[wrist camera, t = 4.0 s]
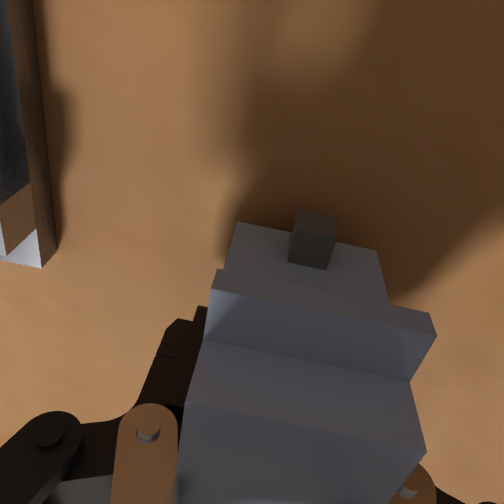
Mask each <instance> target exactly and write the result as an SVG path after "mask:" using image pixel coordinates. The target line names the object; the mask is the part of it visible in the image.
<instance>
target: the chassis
mask: <svg viewBox="0 0 504 504" xmlns="http://www.w3.org/2000/svg"><path fill="white" fill-rule="evenodd" d="M56 252H57V246H56V236H55V226H54V216H53V206H52V196H51V187H50V177H49V167H48V157H47V147H46V137H45V128H44V118H43V108H42V98H41V88H40V78H39V69H38V59H37V49H36V39H35V29H34V19H33V10H32V0H0V260H3V261H8V262H13V263H18V264H23V265H28V266H32V267H37V268H42V267H43V266H44V265H45V264H46V263H47V262H48V261H49V260H50V258H51V257H52V256H53V255H54V254H55V253H56Z"/></svg>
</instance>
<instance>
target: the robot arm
mask: <svg viewBox="0 0 504 504" xmlns="http://www.w3.org/2000/svg"><path fill="white" fill-rule="evenodd" d="M207 311H208V307H205V306H200V305H198V307H197V310H196V313H195V316H194V319H193V321H188V320H184V319H179V318H177V319H176V320H175V321H174V322H173V323H172V324H171V325H170V326H169V327H168V328H167V329H166V331H165V333H164V336H163V338H162V341H161V344H160V345H159V348H158V350H157V353H156V357H155V358H154V360H153V363H152V365H151V368H150V370H149V373H148V375H147V378H146V380H145V383H144V385H143V388H142V390H141V393H140V395H139V398H138V400H137V402H136V403H135V405H134V406H133V407H132V408H131V409H130V410H129V411H128V412H127V413H125V414H124V415H122V416H120V417H118V418H116V419H113V420H110V421H104V422H95V423H85V424H80V422H79V420H78V419H77V418H76V417H75V416H73V415H72V414H70V413H67V412H63V411H52V412H47V413H44V414H41V415H39V416H37V417H35V418H33V419H32V420H30V421H29V422H28V423H27V424H26V425H24V426H23V427H22V428H21V429H20V430H19V431H18V432H17V433H16V434H15V435H14V436H13V437H11V438H10V439H9V440H8V441H7V442H6V443H5V444H4V445H3V446H2V447H1V448H0V504H178V475H175V472H176V465H177V457H178V450H179V443H180V435H181V428H182V421H183V413H184V406H185V400H186V397H187V393H188V390H189V386H190V383H191V379H192V376H193V372H194V369H195V365H196V362H197V359H198V355H199V352H200V348H201V345H202V341H203V337H204V330H205V324H206V318H207ZM388 504H465V503H463V502H461V501H459V500H457V499H456V498H454V497H452V496H450V495H448V494H446V493H445V492H443V491H441V490H440V489H439V488H437V487H436V486H435V485H434V482H433V480H432V478H431V477H430V475H429V474H428V472H427V471H426V470H425V469H424V468H423V467H422V466H421V465H420V464H419V463H418V464H417V466H416V467H415V468H414V470H413V471H412V472H411V474H410V475H409V476H408V478H407V479H406V480H405V482H404V483H403V484H402V486H401V487H400V488H399V490H398V491H397V492H396V494H395V495H394V496H393V498H392V499H391V500H390V502H389V503H388ZM479 504H496V503H493V502H481V503H479Z"/></svg>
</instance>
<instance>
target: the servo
mask: <svg viewBox="0 0 504 504" xmlns="http://www.w3.org/2000/svg"><path fill="white" fill-rule="evenodd" d="M337 238H338V236H337V227H336V218H335V217H331V216H326V215H322V214H317V213H312V212H307V211H303V210H298V209H297V213H296V217H295V220H294V224H293V228H292V232H287V231H282V230H277V229H272V228H268V227H263V226H258V225H253V224H249V223H244V222H239V221H237V224H236V227H235V231H234V234H233V238H232V241H231V245H230V248H229V252H228V255H227V258H226V262H225V265H224V269H223V270H222V269H217V271H216V274H215V277H214V280H213V284H212V287H211V292H210V298H209V305H208V311H207V318H206V324H205V330H204V337H203V341H202V345H201V348H200V352H199V355H198V359H197V362H196V365H195V369H194V372H193V376H192V379H191V383H190V386H189V390H188V393H187V397H186V400H185V406H184V413H183V421H182V428H181V435H180V443H179V450H178V457H177V465H176V472H175V475H178V504H388V503H389V502H390V500H391V499H392V498H393V496H394V495H395V494H396V492H397V491H398V490H399V488H400V487H401V486H402V484H403V483H404V482H405V480H406V479H407V478H408V476H409V475H410V474H411V472H412V471H413V470H414V468H415V467H416V466H417V464H418V463H419V462H420V460H421V459H422V458H423V456H424V455H425V454H426V452H427V450H426V446H425V442H424V438H423V434H422V430H421V426H420V422H419V418H418V414H417V410H416V406H415V402H414V398H413V394H412V390H411V386H410V380H411V379H412V377H413V375H414V374H415V372H416V370H417V369H418V367H419V365H420V364H421V362H422V360H423V359H424V357H425V355H426V354H427V352H428V350H429V349H430V347H431V345H432V344H433V342H434V340H435V339H436V337H437V334H436V331H435V329H434V326H433V323H432V320H431V317H430V315H429V313H427V312H422V311H418V310H413V309H408V308H403V307H399V306H394V305H390V302H389V298H388V294H387V290H386V286H385V282H384V278H383V274H382V270H381V266H380V262H379V258H378V254H377V250H372V249H368V248H363V247H358V246H353V245H349V244H344V243H339V242H336V241H337Z"/></svg>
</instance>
